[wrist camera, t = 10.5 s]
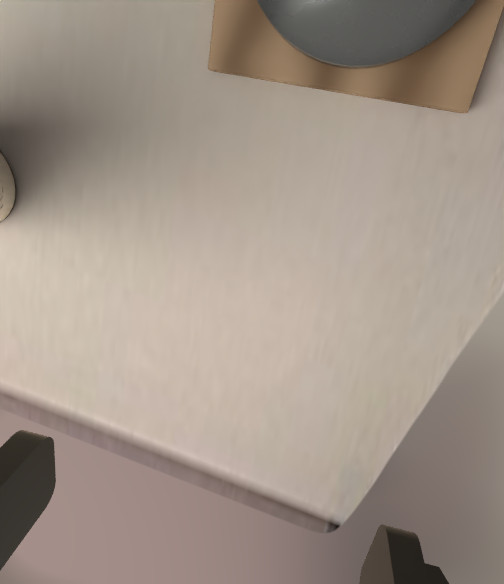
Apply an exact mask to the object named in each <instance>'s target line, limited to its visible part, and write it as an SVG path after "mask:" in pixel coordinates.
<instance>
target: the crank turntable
mask: <svg viewBox="0 0 504 584" xmlns="http://www.w3.org/2000/svg"><path fill="white" fill-rule="evenodd" d="M257 1H258V3H259V5H260V7H261V9H262V11H263V12H264V14H265V15H266V17H267V19H268V20H269V22H270V23H271V25H272V26H273V27H274V29H275V30H276V31H277V32H278V33H279V34H280V36H281V37H282V38H283V39H284V40H285V41H286V42H288V43H289V44H290V45H291V46H292V47H293V48H294V49H296V50H298V51H299V52H301V53H302V54H304V55H305V56H307V57H309V58H311V59H313V60H315V61H317V62H320V63H323V64H326V65H330V66H333V67H339V68H346V69H366V68H373V67H379V66H383V65H386V64H390V63H393V62H396V61H399V60H401V59H403V58H405V57H408V56H410V55H412V54H414V53H415V52H417V51H419V50H420V49H422V48H424V47H425V46H427V45H429V44H430V43H431V42H432V41H434V40H435V39H436V38H438V37H439V36H440V35H442V34H443V33H444V32H445V31H447V30H448V29H449V28H451V27H452V26H453V25H454V24H455V23H456V22H457V21H458V20H459V19H460V18H461V17H462V16H463V15H464V14H465V13H466V12H467V11H468V10H469V8H470V7H471V6H472V5H473V4H474V2H475V1H476V0H257Z"/></svg>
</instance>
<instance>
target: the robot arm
mask: <svg viewBox="0 0 504 584" xmlns="http://www.w3.org/2000/svg"><path fill="white" fill-rule="evenodd" d="M14 200H15V184H14V178H13V175H12V172H11V170H10V167H9V165H8V163H7V162H6V160H5V158H4V157H3V155H2V154H1V153H0V221H2V220H4V219H5V218H6V217H7V216H8V214H9V213H10V211H11V209H12V207H13V204H14ZM55 482H56V478H55V456H54V441H53V439H52V438H51V437H47V436H44V435H39V434H36V433H32V432H28V431H24V430H21V431H18V432H16V433H15V434H14V435H13V436H12V437H11V438H10V439H9V440H8V441H7V442H6V443H5V444H4V445H3V446H2V447H1V448H0V570H1V569H2V567H3V566H4V565H5V563H6V562H7V561H8V559H9V558H10V556H11V555H12V553H13V552H14V551H15V550H16V548H17V547H18V545H19V544H20V543H21V541H22V540H23V539H24V537H25V536H26V534H27V533H28V532H29V530H30V529H31V528H32V526H33V525H34V523H35V522H36V521H37V519H38V518H39V516H40V515H41V514H42V512H43V511H44V510H45V508H46V507H47V505H48V503H49V501H50V499H51V497H52V494H53V491H54V488H55ZM360 584H449V583H448V581H447V580H446V578H445V576H444V575H443V573H442V571H441V570H440V568H439V567H436V566H433V565H429V564H425V563H424V559H423V555H422V550H421V546H420V542H419V539H418V537H417V535H416V534H415V533H413V532H409V531H405V530H401V529H397V528H393V527H390V526H386V525H380V527H379V528H378V530H377V533H376V535H375V537H374V540H373V542H372V545H371V547H370V550H369V552H368V554H367V557H366V559H365V561H364V564H363V566H362V570H361V576H360Z"/></svg>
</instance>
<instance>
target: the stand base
mask: <svg viewBox="0 0 504 584" xmlns="http://www.w3.org/2000/svg"><path fill="white" fill-rule="evenodd" d="M503 7H504V0H476V1H475V2H474V4H473V5H472V6H471V7H470V8H469V10H468V11H467V12H466V13H465V14H464V15H463V16H462V17H461V18H460V19H459V20H458V21H457V22H456V23H455V24H454V25H453V26H452V27H451V28H449V29H448V30H447V31H445V32H444V33H443V34H442V35H440V36H439V37H438V38H436V39H435V40H434V41H432V42H431V43H430V44H429V45H427V46H425V47H424V48H422V49H420V50H419V51H417V52H415V53H414V54H412V55H410V56H408V57H405V58H403V59H401V60H399V61H396V62H393V63H390V64H386V65H383V66H379V67H373V68H366V69H346V68H339V67H333V66H330V65H326V64H323V63H320V62H317V61H315V60H313V59H311V58H309V57H307V56H305V55H304V54H302V53H301V52H299V51H298V50H296V49H294V48H293V47H292V46H291V45H290V44H289V43H288V42H286V41H285V40H284V39H283V38H282V37H281V36H280V34H279V33H278V32H277V31H276V30H275V29H274V27H273V26H272V25H271V23H270V22H269V20H268V19H267V17H266V15H265V14H264V12H263V11H262V9H261V7H260V5H259V3H258V1H257V0H215V6H214V16H213V26H212V35H211V45H210V55H209V64H208V69H209V70H211V71H215V72H221V73H227V74H233V75H239V76H245V77H250V78H256V79H262V80H268V81H274V82H280V83H286V84H292V85H298V86H304V87H310V88H316V89H322V90H327V91H333V92H339V93H345V94H351V95H357V96H363V97H369V98H375V99H381V100H387V101H393V102H399V103H404V104H410V105H416V106H422V107H428V108H434V109H440V110H446V111H452V112H458V113H467V112H468V110H469V107H470V104H471V101H472V98H473V95H474V92H475V89H476V86H477V83H478V80H479V77H480V74H481V72H482V69H483V66H484V63H485V60H486V57H487V54H488V51H489V48H490V45H491V42H492V39H493V36H494V34H495V31H496V28H497V25H498V22H499V19H500V16H501V13H502V10H503Z"/></svg>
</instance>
